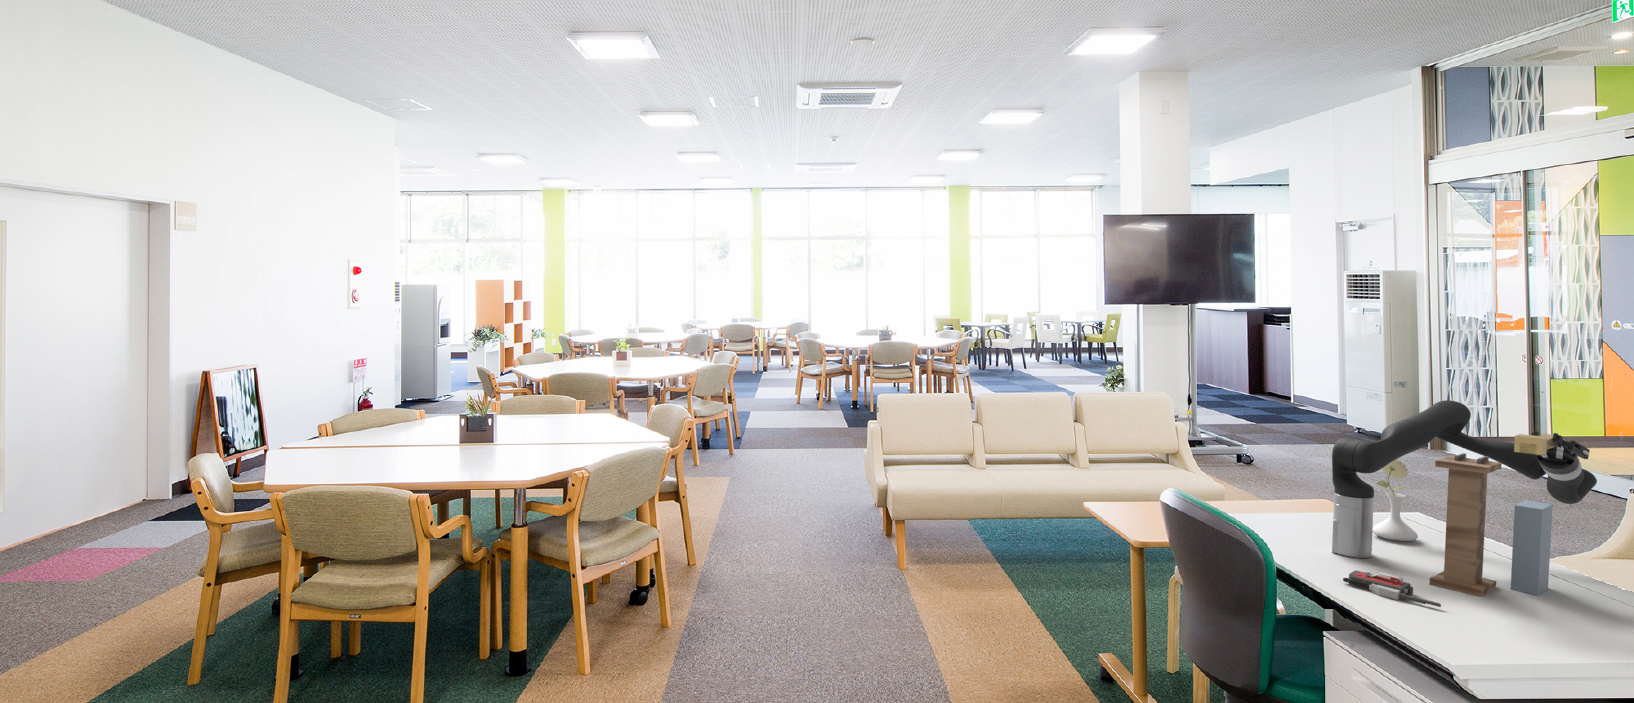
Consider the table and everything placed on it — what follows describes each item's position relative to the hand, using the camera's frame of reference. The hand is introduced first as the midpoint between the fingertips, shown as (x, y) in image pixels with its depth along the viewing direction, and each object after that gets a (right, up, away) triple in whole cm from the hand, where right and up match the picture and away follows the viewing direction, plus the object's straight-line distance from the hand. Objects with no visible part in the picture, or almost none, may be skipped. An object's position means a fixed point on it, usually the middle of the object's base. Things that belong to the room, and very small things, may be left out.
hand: (1545, 435), depth 186 cm
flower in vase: (-8, -37, +40) cm, 55 cm away
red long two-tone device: (-44, -39, -6) cm, 59 cm away
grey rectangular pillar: (-6, -39, -2) cm, 39 cm away
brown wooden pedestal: (-21, -38, 0) cm, 44 cm away
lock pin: (-4, -3, -2) cm, 5 cm away
